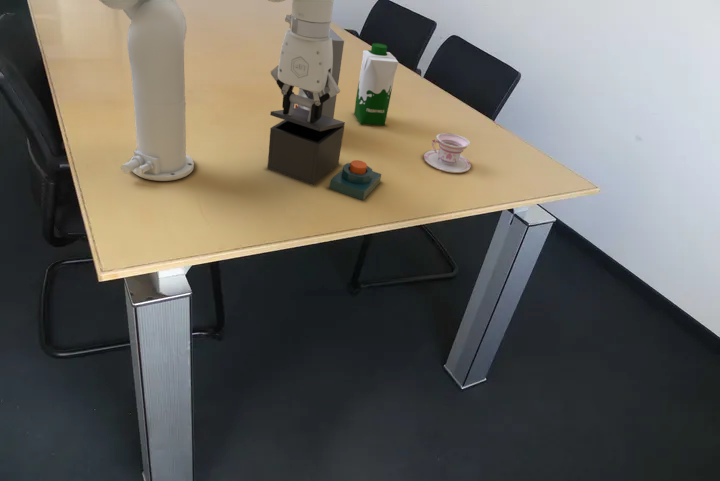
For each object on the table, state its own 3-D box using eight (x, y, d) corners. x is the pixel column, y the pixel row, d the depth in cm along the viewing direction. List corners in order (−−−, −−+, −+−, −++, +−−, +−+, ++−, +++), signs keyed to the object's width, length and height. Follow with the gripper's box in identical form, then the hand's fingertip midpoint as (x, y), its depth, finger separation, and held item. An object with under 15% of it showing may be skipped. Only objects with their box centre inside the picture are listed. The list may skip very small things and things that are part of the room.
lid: (319, 131, 114) (325, 105, 112) (270, 115, 117) (274, 89, 115) (344, 125, 126) (349, 102, 124) (298, 111, 129) (303, 87, 127)
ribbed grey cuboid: (292, 119, 149) (302, 22, 135) (314, 119, 151) (326, 23, 138) (307, 142, 139) (319, 39, 125) (330, 142, 141) (344, 41, 127)
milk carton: (379, 114, 162) (392, 44, 151) (388, 127, 155) (403, 54, 144) (350, 112, 159) (361, 41, 148) (358, 126, 152) (371, 52, 141)
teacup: (465, 155, 148) (471, 133, 144) (474, 176, 138) (481, 153, 134) (420, 149, 146) (426, 127, 143) (426, 170, 137) (432, 147, 133)
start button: (362, 176, 121) (363, 169, 120) (346, 171, 122) (348, 164, 121) (368, 170, 124) (369, 163, 123) (353, 165, 124) (354, 158, 123)
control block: (362, 200, 120) (366, 184, 117) (329, 188, 122) (331, 172, 119) (379, 182, 127) (383, 166, 125) (348, 171, 129) (350, 156, 127)
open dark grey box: (313, 185, 121) (319, 144, 116) (267, 169, 124) (270, 127, 119) (338, 164, 132) (344, 125, 126) (294, 149, 134) (298, 111, 129)
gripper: (260, 19, 106) (256, 110, 116) (343, 42, 102) (330, 134, 112) (280, 13, 112) (274, 100, 122) (359, 35, 108) (345, 123, 118)
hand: (301, 116), depth 117 cm, fingers closed on lid, 5 cm apart
